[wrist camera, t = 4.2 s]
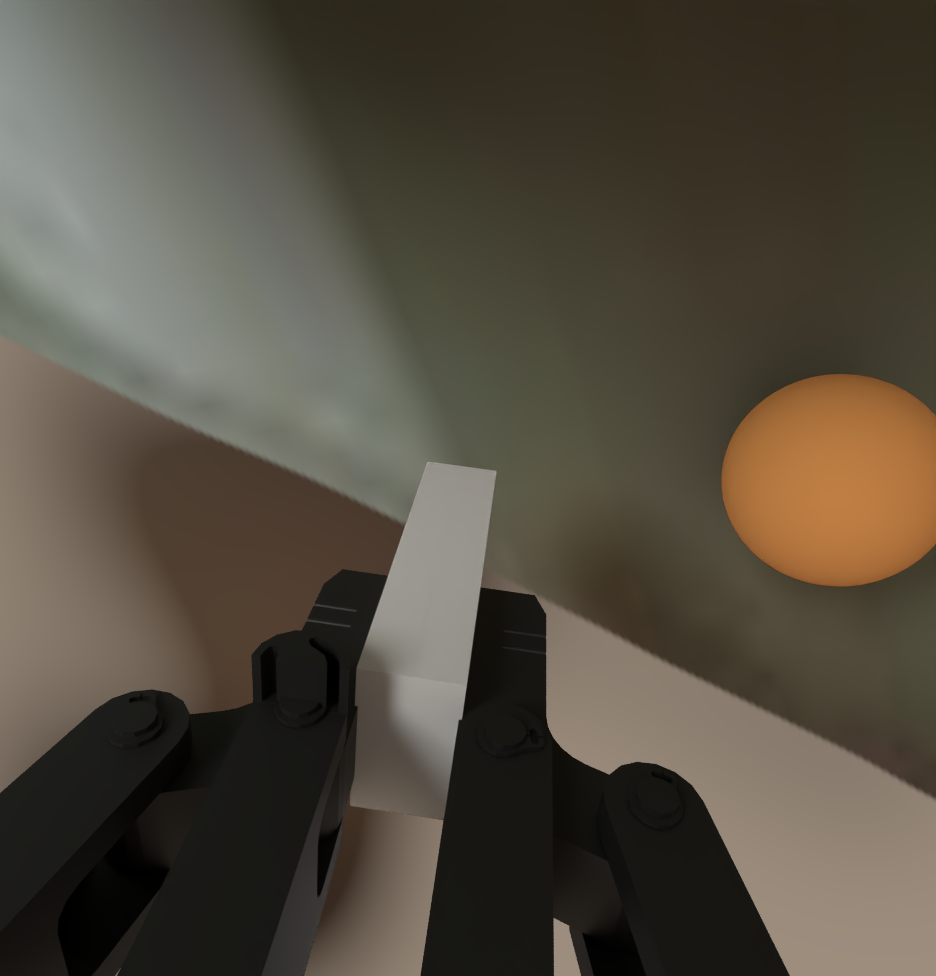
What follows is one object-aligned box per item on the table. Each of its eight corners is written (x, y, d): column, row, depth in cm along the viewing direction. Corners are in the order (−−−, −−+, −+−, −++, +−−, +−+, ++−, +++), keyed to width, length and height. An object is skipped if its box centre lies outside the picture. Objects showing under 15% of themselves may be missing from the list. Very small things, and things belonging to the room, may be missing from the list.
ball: (684, 504, 23) (720, 613, 18) (733, 334, 20) (791, 407, 15) (860, 529, 23) (945, 646, 18) (933, 360, 20) (1057, 443, 15)
